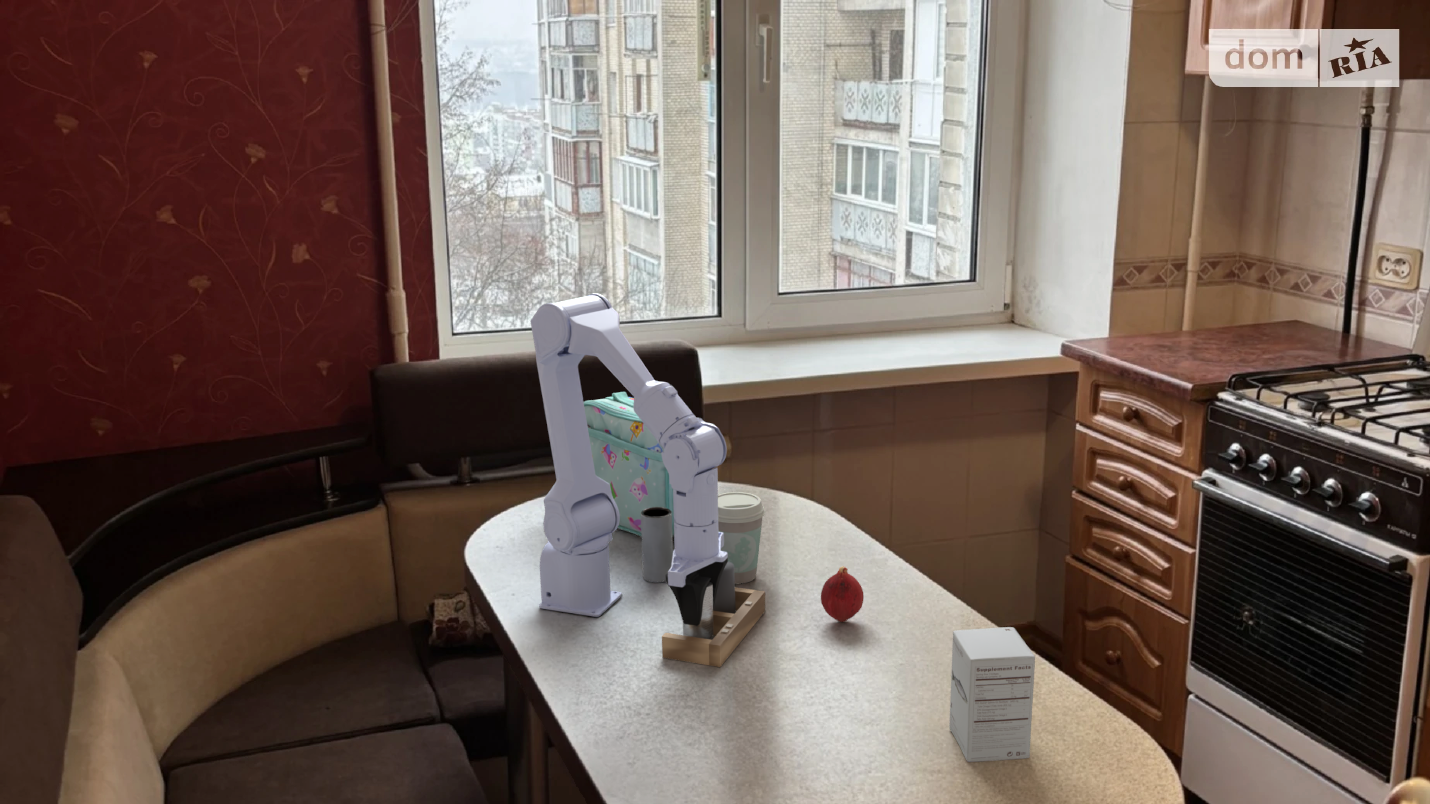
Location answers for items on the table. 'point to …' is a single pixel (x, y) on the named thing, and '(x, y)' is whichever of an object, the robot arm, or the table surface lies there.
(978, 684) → the supplement box
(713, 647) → the rack
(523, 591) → the table surface
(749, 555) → the coffee cup
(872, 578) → the table surface
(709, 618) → the grey rod
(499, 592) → the table surface
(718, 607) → the dark grey cylinder
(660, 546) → the grey tubular piece
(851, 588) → the onion
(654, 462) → the lunch box
